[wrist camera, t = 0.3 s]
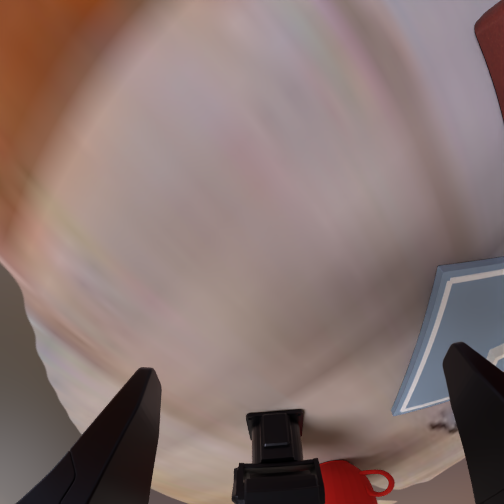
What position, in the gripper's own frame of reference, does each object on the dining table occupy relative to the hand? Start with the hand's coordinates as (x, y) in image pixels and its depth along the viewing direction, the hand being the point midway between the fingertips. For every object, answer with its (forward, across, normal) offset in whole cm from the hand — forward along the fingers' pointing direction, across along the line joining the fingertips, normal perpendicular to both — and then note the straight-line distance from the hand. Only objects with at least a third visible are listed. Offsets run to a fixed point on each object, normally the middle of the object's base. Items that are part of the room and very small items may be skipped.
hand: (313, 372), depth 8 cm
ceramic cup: (+13, -11, +45) cm, 48 cm away
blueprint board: (+14, -26, +17) cm, 34 cm away
